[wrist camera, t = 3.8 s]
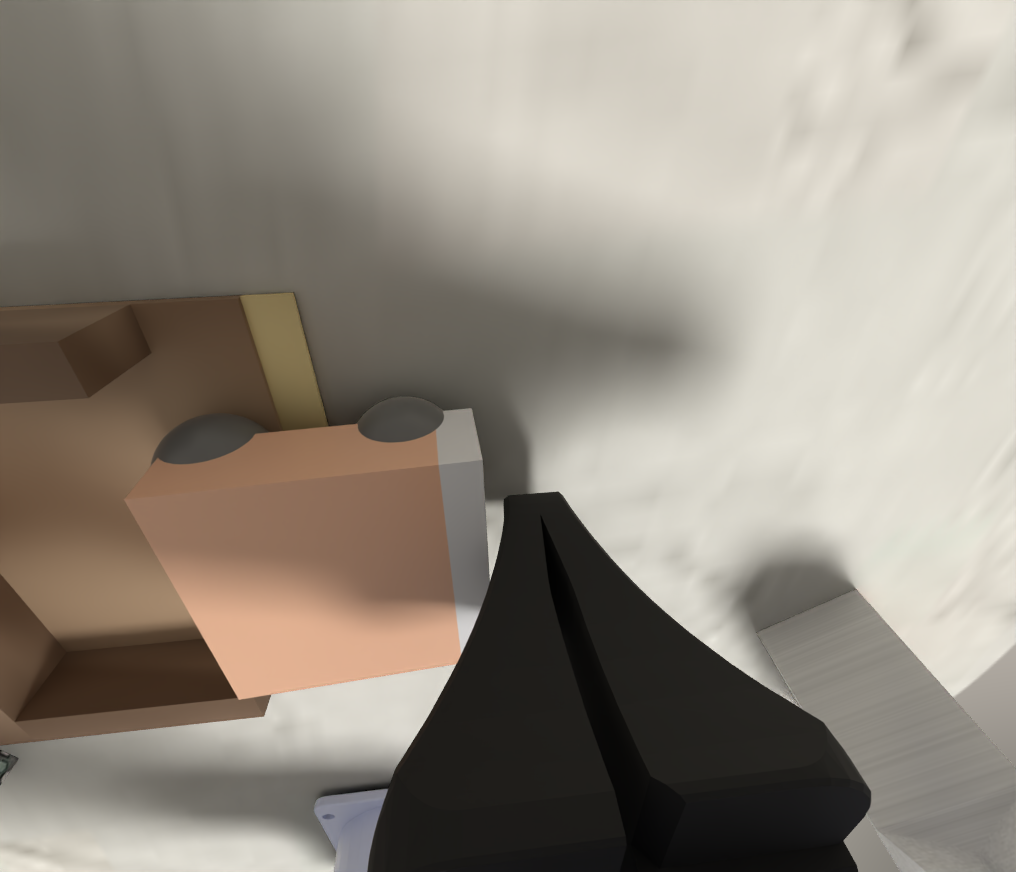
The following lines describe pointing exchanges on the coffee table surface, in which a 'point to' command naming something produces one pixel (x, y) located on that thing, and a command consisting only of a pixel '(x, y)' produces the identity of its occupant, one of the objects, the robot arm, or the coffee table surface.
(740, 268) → the coffee table surface
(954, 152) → the coffee table surface
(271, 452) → the trolley
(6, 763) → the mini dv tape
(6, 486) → the tray
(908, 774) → the gable top carton
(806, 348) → the coffee table surface
